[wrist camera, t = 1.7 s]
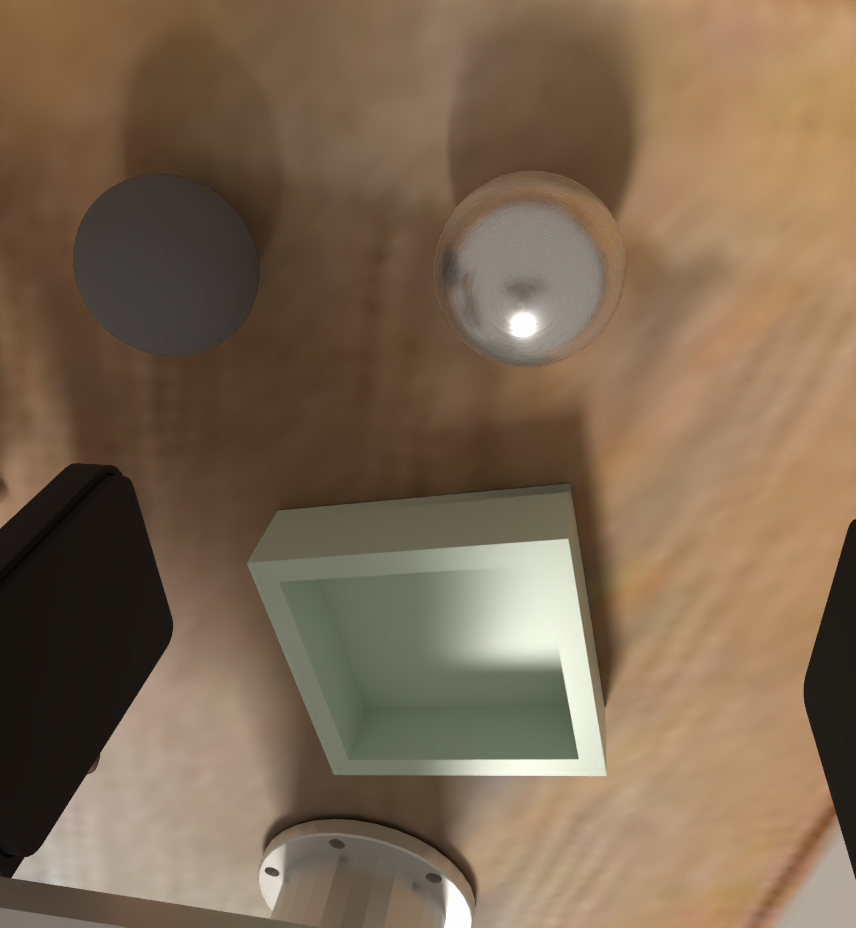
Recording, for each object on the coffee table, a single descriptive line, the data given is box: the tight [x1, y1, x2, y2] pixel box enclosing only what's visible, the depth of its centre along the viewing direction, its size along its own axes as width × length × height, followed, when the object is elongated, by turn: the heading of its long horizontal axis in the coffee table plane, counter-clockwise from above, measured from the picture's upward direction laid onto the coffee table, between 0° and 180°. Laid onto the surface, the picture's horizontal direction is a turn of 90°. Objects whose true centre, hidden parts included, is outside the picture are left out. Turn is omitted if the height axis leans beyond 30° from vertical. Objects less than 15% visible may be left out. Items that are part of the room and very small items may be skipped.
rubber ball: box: [73, 174, 259, 356], centre depth 24 cm, size 6×6×6 cm
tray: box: [247, 483, 607, 776], centre depth 32 cm, size 12×12×4 cm
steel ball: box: [433, 171, 626, 368], centre depth 23 cm, size 6×6×6 cm
